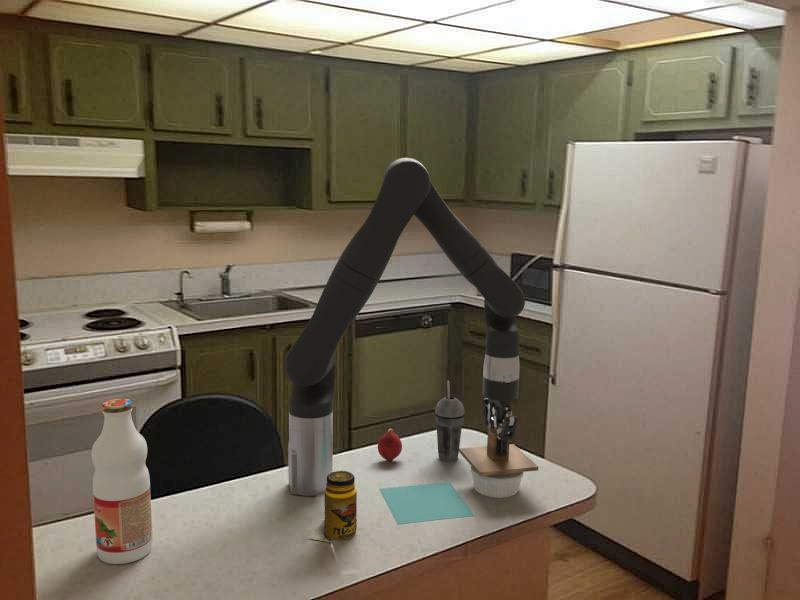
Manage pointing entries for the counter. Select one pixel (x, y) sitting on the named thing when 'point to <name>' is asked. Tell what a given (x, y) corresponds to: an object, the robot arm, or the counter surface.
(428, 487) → the mat
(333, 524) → the condiment
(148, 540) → the fruit juice
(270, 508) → the counter surface
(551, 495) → the counter surface
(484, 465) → the lid
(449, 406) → the beverage cup
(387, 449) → the pomegranate
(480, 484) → the ramekin
